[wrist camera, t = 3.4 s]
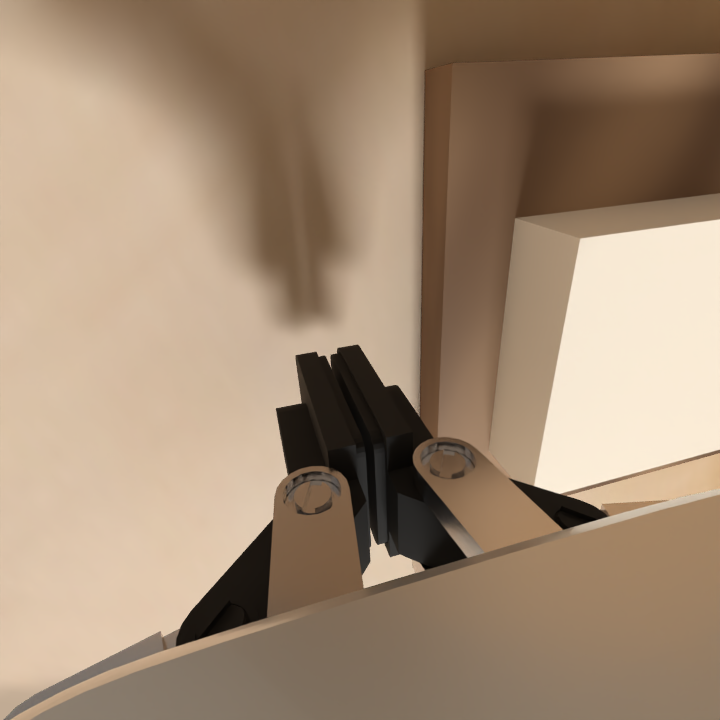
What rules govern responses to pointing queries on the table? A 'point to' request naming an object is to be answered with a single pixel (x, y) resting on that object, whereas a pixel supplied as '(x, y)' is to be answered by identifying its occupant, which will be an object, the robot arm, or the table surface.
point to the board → (539, 192)
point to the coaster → (609, 343)
